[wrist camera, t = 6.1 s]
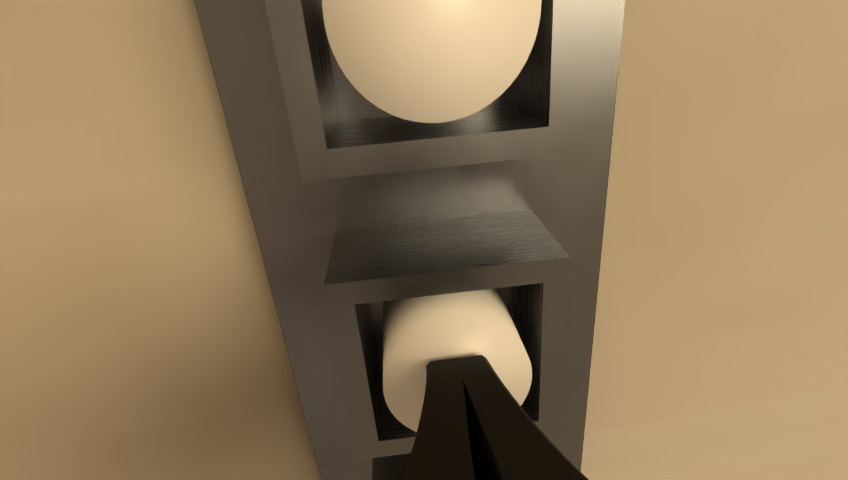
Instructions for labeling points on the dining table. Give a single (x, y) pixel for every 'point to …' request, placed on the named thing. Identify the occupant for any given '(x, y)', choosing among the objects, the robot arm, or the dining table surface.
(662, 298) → the dining table surface
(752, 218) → the dining table surface
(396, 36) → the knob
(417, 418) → the knob middle
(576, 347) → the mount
